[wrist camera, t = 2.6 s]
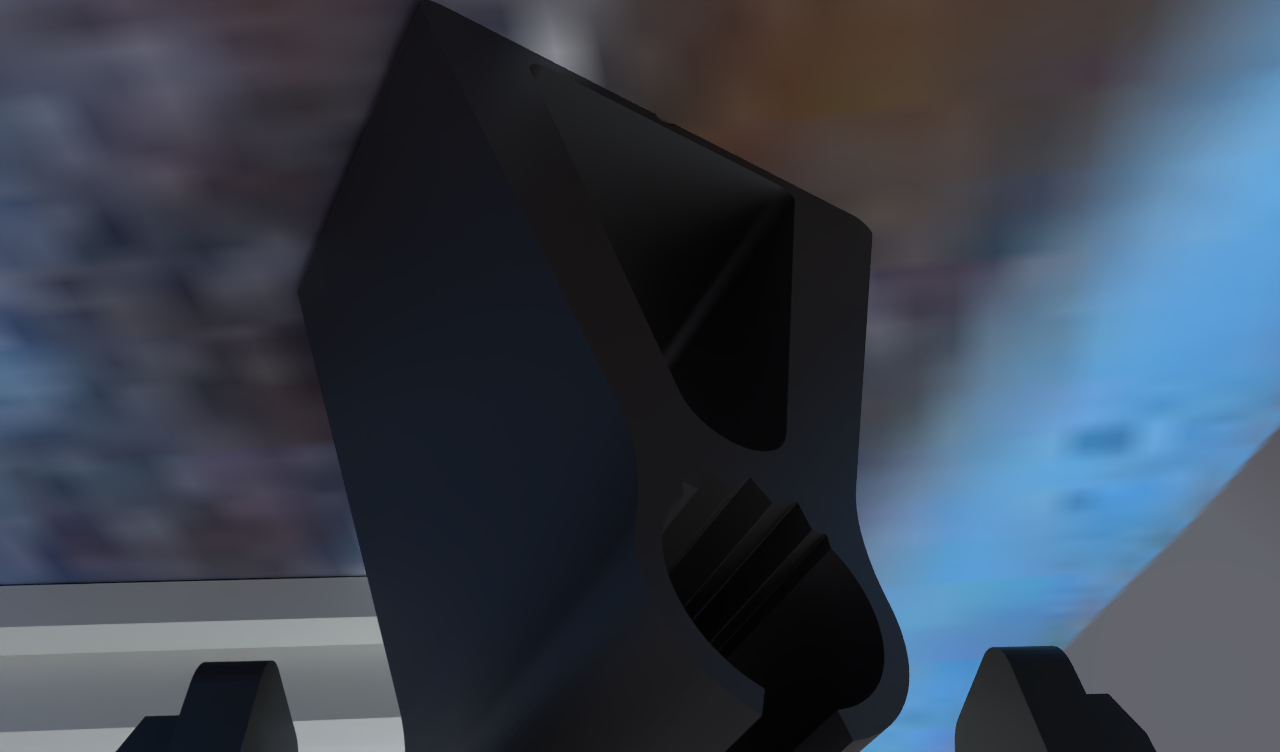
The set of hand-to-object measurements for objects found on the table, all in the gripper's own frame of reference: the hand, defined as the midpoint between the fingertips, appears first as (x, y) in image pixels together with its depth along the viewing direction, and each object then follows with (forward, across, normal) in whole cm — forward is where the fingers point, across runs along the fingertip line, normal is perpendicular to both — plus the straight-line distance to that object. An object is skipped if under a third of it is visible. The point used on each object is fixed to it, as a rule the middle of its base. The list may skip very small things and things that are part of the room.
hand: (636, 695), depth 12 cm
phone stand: (+10, 0, 0) cm, 10 cm away
